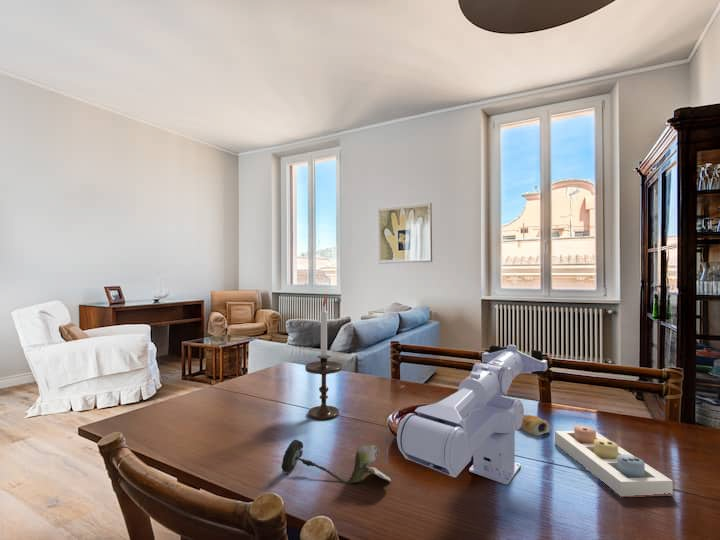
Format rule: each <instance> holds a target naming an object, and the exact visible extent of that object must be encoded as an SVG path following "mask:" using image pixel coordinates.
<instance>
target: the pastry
mask: <svg viewBox="0 0 720 540" xmlns="http://www.w3.org/2000/svg"><path fill="white" fill-rule="evenodd" d="M519 429H520V430H522V431H523V432H525V433H527V434H529V435H532V436H542V435H543V434H547V433H549V432H550V431H551V426H550V424H549V422H548V421H547V420H544V419H542V418H540V417H539V416H536V415H531V414H524V417H523V423H522V425H521V427H520V428H519Z"/></svg>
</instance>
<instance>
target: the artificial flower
mask: <svg viewBox="0 0 720 540" xmlns="http://www.w3.org/2000/svg"><path fill="white" fill-rule="evenodd" d="M303 448H304V443H303V441H301V440H298V439H294V440H292V441H291V442H290V443H289V445H288V447H287V448H286V450H285V453H284V454H283V457H282V463H281V470H282V472H281V473H287V474H291V473H292V471H293V470H294V469H295V467H296V465H297V464H298V461H300V462H302V464H303V465H305V466H307V467H315V468H318V469H320V470H322V471H323V472H326V473H327V474H328V475H330V476H332V477H333V478H335V480H337V481H339V482H341V483H342V484H343V483H344V484H346V483H347V484H348V485H349V484H352V483H358V482H360V481H361V480H362V478H363V476H365V475H366V474H367V473H369V474H374V475H376V476H377V477H379V478H381V479H383V480H386V481H387V482H389V483H391V482H392V479H391V478H390V477H389V476H387V475H386V474H384V473H383V472H382V471H380V470H378V469H377V467H374V466H368V464H371V463H373V462H375V461H376V460H377V458H378V457H379V455H380V448H379V447H378V446H375V444H373V445H372V444H371V445H358V446H357V447H356V454H355V459H354V460H355V461H354V468H353V471H352V474H351V476H350V478H349V480H348V481H346V480H344V479H342V478H341V477H340V476H338V475H336V474H334V472H332V471H330V470H329V469H327V468H325V467H324V466H322V465H321V466H320V465H319V464H316V463H315V462H313V461H311V460H309V459H308V460H307V459H303V458H301V457H302V456H303V451H304V450H303Z"/></svg>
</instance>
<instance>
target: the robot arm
mask: <svg viewBox="0 0 720 540" xmlns="http://www.w3.org/2000/svg"><path fill="white" fill-rule="evenodd" d="M517 348H518V347H517V346H516V345H515V344H508V345H506V346H500V345H494V344H493V345H491V346H489V348H488V349H489V350H488V351H489V352H485V351H484V352H483V353H481V362H480V363H479V362H476V363H474V364H473V367H472V370H471V371H470V373H469V375H468V376H467V377H466V378H465V379H463V380H461V381H460V383H459V386H458V390H457V391H456V392H454V393H452V394H450V395H448V396H446V397H445V398H444V399H441V400H440V401H438V402H434V403H432V404H427V405H422V406H418V407H416V409H415V410H414V412H416V413H417V414H418V415H417V414H416V413H411V412H410V413H407V414H406V415H405V416H404V417H403V418H402V420H401V421H400V422H399V424H398V428H397V432H396V443H397V447H398V449H399V451H400V453H401V454H402V455H403V457H404V459H406V460H408V461H411V462H414V463H416V464H419V465H422V466H424V467H427V468H428V469H432V470H434V471H437V472H439V473H441V474H445V475H447V476H450V477H452V478H457V477H458V476H459V474H461V472H462V471H463V470H464V469H465V467H466V466H468V464H469V463H470V462H471V461H472V460H473V463H472V465H471V466H470V467H469V469H468V471H469V472H470V473H473V474H475V475H478V476H481V477H483V478H486V479H490V480H492V481H494V482H497V483H500V484H502V485H509V483H510V481H512V479H513V478H514V476H515V475H516V474H517V472H518V471H519V470H520V469H521V467H522V464H521V463H520V462H517V461H515V460H516V459H515V457H516V456H515V455H516V453H515V451H516V450H515V448H516V445H515V443H516V442H515V441H516V440H515V439H516V438H515V437H516V435H515V434H516V432H517V431H518V430H519V429H520V427H521V425H522V423H523V417H524V415H525V411H524V409H525V408H524V405H523V403H522V401H521V400H520V399H518V398H515V399H514V398H510V397H506V395H507V394H508V391H509V388H510V386H511V385H512V383H513V380H514V379H515V378H516V377H517V376H518V375H523V374H528V373H530V374H531V375H537V376H540V375H542V374H543V373H544V372H546V371H547V370H548V360H547V359H543V352H542V350H536V349H535V350H534V349H531V356H530V355H529V354H526V353H524V352H522V351H520V350H518V349H517ZM502 395H503V396H502ZM472 458H473V459H472Z"/></svg>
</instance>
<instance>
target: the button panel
mask: <svg viewBox="0 0 720 540" xmlns="http://www.w3.org/2000/svg"><path fill="white" fill-rule="evenodd" d="M596 439H605V440H609V441H611V440H610V439H609V438H607V437H606V436H604V435H602V434H600V432H597V431H596ZM554 444H555V445H556V446H558V448H560V449H561V450H562V449H563V450H562V451H564V452H565V453H566V452H567V453H568V454H567V453H566V454H567V455H569V456H570V455H571V456H572V457H573V458H574V461H576V460H577V461H578V462H579V463H580V464H579V463H578V462H577V461H576V462H577V463H578V464H579V465H581V464H582V465H583V466H584V467H585V468H587V469H588V470H589V471H590V472H592V473H591V474H592V475H593V474H594V475H595V476H596V477H597V479H598V478H599V479H600V480H601V481H603V482H604V483H605V484H607V485H608V486H609V487H610V488H612V489H613V490H614V491H615V492H616V493H618V494H619V495H620V496H634V495H653V494H664V493H666V494H668V493H671V494H673V492H674V491H673V488H674V487H673V484H674V483H673V480H672V479H670V478H669V477H667V476H666V475H665V474H663V473H661V472H660V471H658V470H656V469H655V468H653V467H652V466H650V465H649V464H647V463H645V462H644V463H645V478H627V477H625V476H624V475H623V474H621V473H620V472H619V471H617V459H601V458H600V457H598V456H597V455H596V454H594V444H581V443H579V442H578V441H577V440H575V439H574V430H555V431H554ZM621 454H625V455H631V456H634V455H633V454H631V452H628V451H627V450H626V449H624V448H622V447H620V446H619V445H618V455H621ZM571 456H570V457H571ZM572 457H571V458H572ZM634 457H636V456H634ZM573 458H572V459H573ZM582 465H581V466H582ZM583 466H582V467H583ZM584 467H583V468H584ZM585 468H584V469H585ZM587 469H586V470H587ZM588 470H587V471H588ZM589 471H588V472H589ZM590 472H589V473H590ZM594 475H593V476H594ZM595 476H594V477H595ZM596 477H595V478H596ZM599 479H598V480H599ZM600 480H599V481H600ZM601 481H600V482H601ZM604 483H603V484H604ZM605 484H604V485H605ZM610 488H609V489H610ZM615 492H614V493H615ZM616 493H615V494H616Z"/></svg>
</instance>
